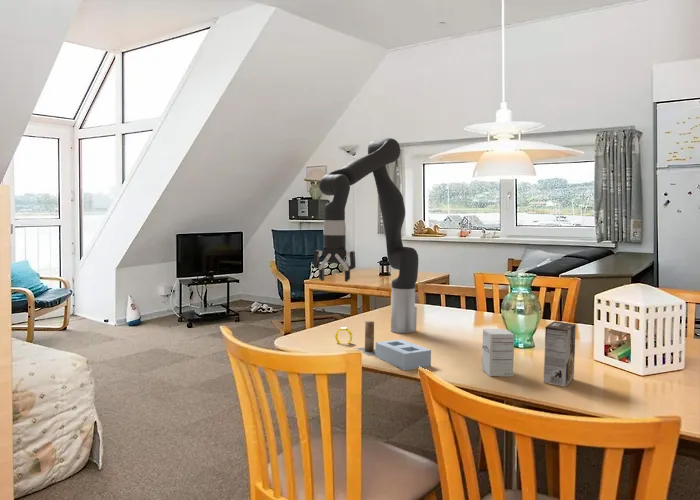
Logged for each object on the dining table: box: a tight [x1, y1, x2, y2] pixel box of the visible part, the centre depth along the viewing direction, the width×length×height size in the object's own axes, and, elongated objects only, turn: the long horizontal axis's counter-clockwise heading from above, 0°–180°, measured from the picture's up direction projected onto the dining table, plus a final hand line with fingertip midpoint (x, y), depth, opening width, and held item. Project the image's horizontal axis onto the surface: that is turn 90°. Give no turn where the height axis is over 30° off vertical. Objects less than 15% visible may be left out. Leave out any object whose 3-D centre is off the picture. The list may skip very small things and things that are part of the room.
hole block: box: [374, 339, 432, 371], centre depth 180 cm, size 10×16×5 cm, turn 30°
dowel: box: [364, 320, 375, 352], centre depth 191 cm, size 3×3×10 cm
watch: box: [334, 326, 353, 345], centre depth 202 cm, size 6×3×6 cm, turn 71°
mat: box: [355, 346, 376, 357], centre depth 191 cm, size 6×10×1 cm, turn 30°
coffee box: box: [543, 321, 577, 387], centre depth 161 cm, size 9×6×16 cm
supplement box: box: [481, 328, 515, 377], centre depth 168 cm, size 7×7×13 cm
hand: (334, 280), depth 195 cm, fingers open, 8 cm apart
